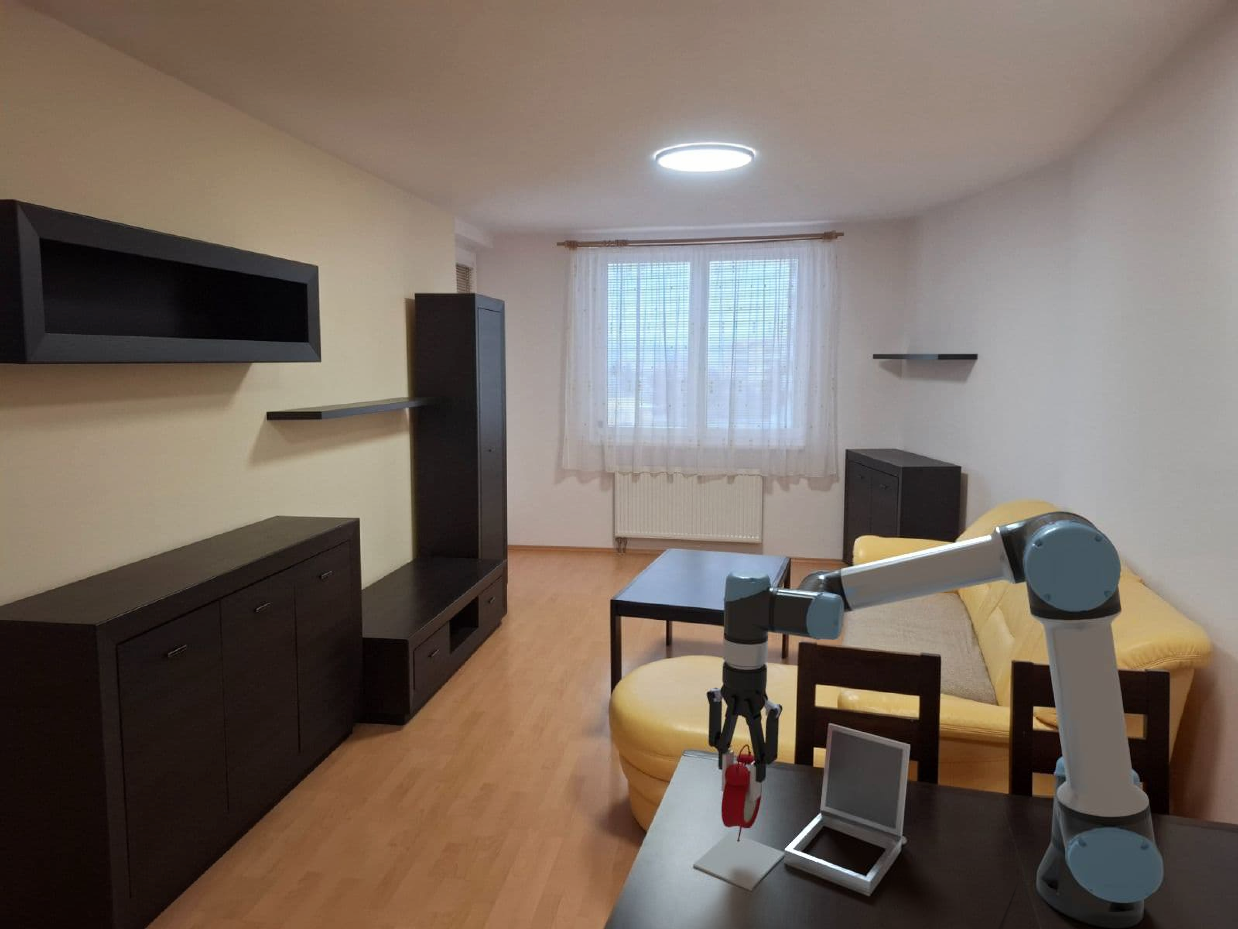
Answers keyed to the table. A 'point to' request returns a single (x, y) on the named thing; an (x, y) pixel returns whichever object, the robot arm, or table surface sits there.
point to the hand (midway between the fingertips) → (741, 793)
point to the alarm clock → (739, 794)
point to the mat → (739, 860)
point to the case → (836, 873)
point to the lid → (865, 778)
